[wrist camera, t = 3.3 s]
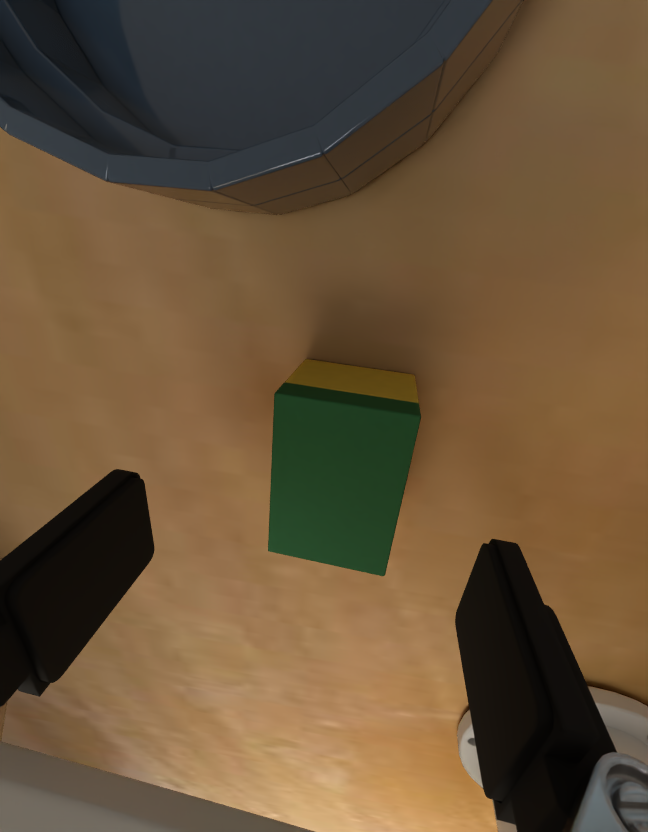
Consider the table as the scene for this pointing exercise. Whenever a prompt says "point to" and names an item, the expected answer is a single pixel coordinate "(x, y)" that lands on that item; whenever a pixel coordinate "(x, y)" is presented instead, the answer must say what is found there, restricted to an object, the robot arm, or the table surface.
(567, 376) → the table surface
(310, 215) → the table surface
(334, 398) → the sponge
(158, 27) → the bowl
